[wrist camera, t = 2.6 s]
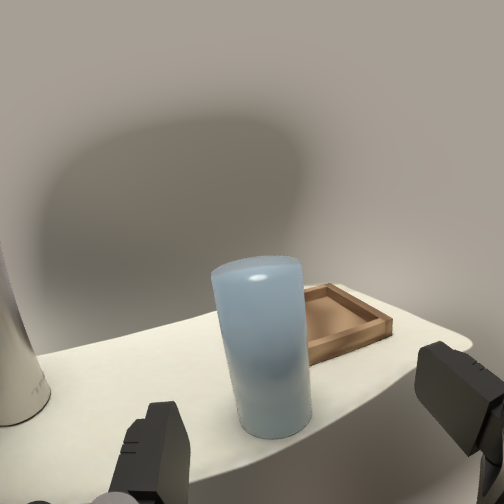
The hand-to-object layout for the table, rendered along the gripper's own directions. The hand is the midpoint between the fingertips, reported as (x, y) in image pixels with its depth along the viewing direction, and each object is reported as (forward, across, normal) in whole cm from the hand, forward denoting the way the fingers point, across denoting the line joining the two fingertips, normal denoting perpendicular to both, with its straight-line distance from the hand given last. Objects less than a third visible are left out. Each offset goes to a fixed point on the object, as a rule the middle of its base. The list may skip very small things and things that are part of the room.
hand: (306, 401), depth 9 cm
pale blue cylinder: (+12, 0, +11) cm, 16 cm away
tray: (+25, -6, +10) cm, 28 cm away
